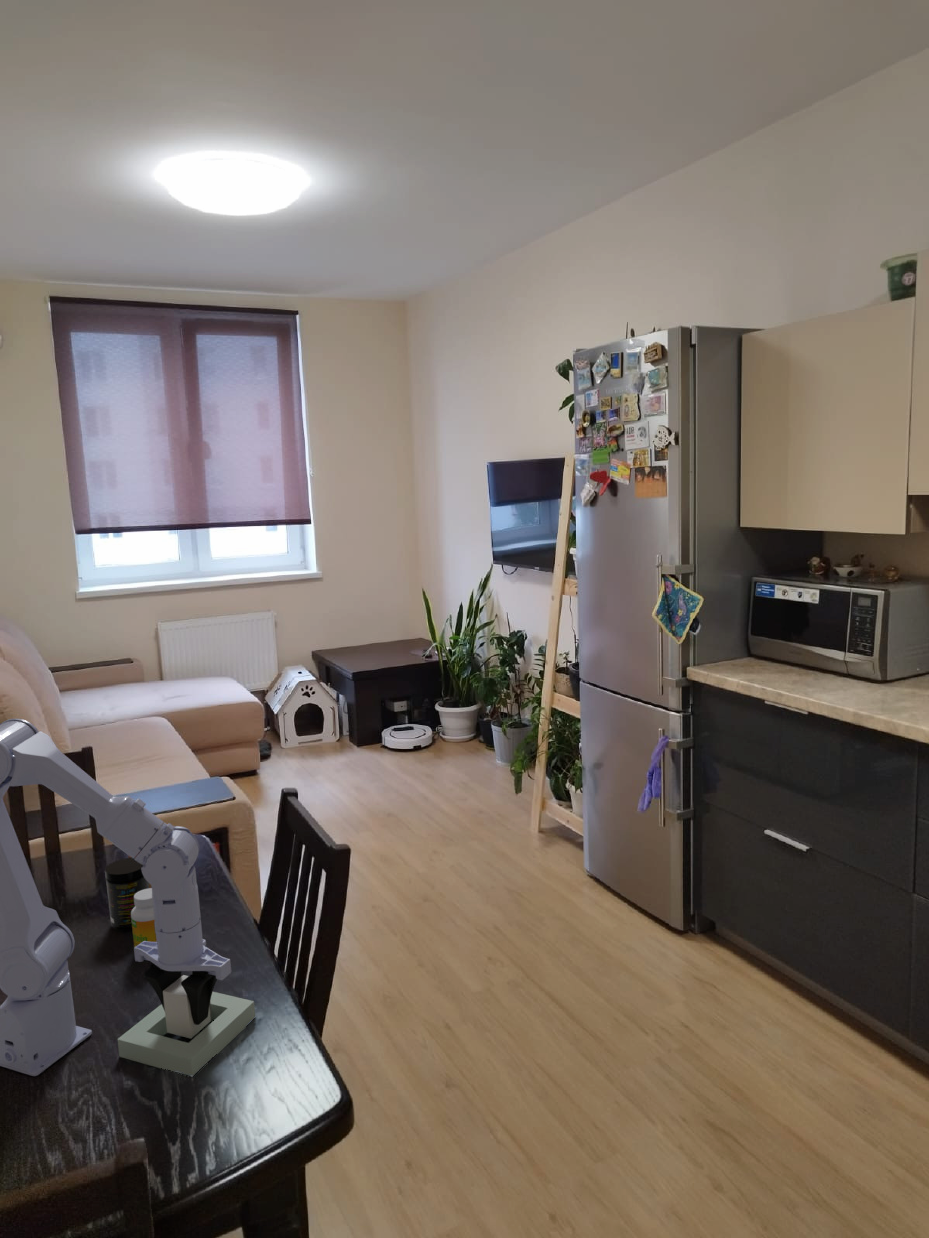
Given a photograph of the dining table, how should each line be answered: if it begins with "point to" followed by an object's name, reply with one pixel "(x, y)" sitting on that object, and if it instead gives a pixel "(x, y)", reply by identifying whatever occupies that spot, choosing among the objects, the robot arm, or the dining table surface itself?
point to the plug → (180, 1011)
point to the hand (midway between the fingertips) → (187, 1016)
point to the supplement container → (123, 890)
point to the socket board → (180, 1056)
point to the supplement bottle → (143, 917)
